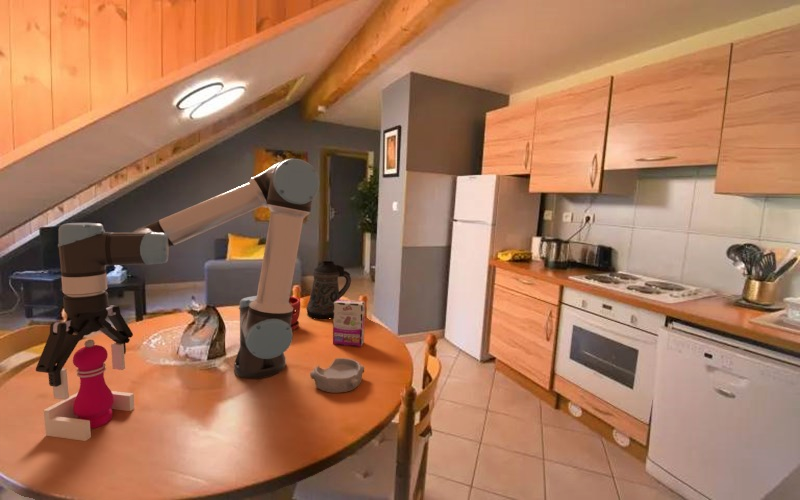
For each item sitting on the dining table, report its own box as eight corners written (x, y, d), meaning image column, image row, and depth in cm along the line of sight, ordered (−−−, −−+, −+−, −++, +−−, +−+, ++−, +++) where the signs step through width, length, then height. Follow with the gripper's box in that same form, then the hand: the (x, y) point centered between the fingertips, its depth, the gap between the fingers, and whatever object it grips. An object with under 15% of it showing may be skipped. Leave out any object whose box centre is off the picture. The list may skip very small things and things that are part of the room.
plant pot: (276, 321, 155) (276, 294, 154) (304, 324, 153) (305, 297, 152) (260, 332, 142) (260, 303, 141) (291, 335, 141) (291, 306, 139)
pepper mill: (91, 433, 79) (85, 348, 77) (65, 428, 81) (58, 343, 78) (122, 415, 86) (117, 336, 84) (98, 410, 88) (92, 332, 85)
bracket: (134, 408, 89) (133, 385, 88) (85, 441, 77) (83, 415, 76) (99, 404, 90) (98, 381, 89) (45, 435, 78) (43, 410, 77)
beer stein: (299, 313, 167) (299, 261, 164) (331, 305, 182) (333, 257, 179) (321, 322, 157) (322, 266, 153) (354, 313, 171) (355, 262, 168)
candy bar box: (364, 342, 138) (365, 300, 135) (361, 347, 133) (362, 304, 130) (336, 339, 139) (337, 298, 137) (332, 344, 134) (333, 302, 132)
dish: (305, 388, 103) (305, 372, 102) (330, 368, 115) (330, 353, 115) (350, 400, 98) (350, 383, 97) (371, 377, 111) (371, 362, 110)
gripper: (120, 279, 92) (125, 357, 95) (3, 307, 68) (14, 411, 70) (147, 281, 91) (151, 360, 94) (38, 310, 67) (47, 415, 70)
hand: (92, 382), depth 82 cm, fingers open, 13 cm apart
